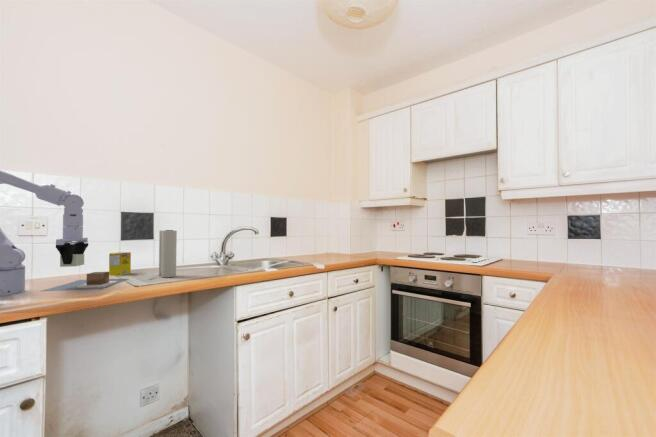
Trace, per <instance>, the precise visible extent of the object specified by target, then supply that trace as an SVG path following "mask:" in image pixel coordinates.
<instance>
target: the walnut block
mask: <svg viewBox="0 0 656 437" xmlns="http://www.w3.org/2000/svg"><path fill="white" fill-rule="evenodd" d="M109 279H110V275H109V271H93V272H90V273H87V274H86V280H87V283H86V285H102V284H105V283H108V282H109Z"/></svg>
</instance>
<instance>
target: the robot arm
mask: <svg viewBox="0 0 656 437" xmlns="http://www.w3.org/2000/svg"><path fill="white" fill-rule="evenodd" d="M1 184H3V185H4V184H5V185H9V186H11V187H15V188H17V189H21V190H23V191H27V192H31V193H34V194H35V197H36V198H37V199H38V200H41V201H44V202H47V203H49V204H53V205H56V206H63V208H64V209H63V215H62V238H58V239H55V249H56V250H57V252H58V253H59V256H61V257H62V261H63V264H71V263H72V258H73V254H84V255H85V252H86V250H87V248H88V246H89V240H88V239H89V238H88V237H83V236H84V235H83V234H84V214H83V213H84V211H83V210H84V209H83V207H84V204H85V203H84V200H83V198H82V197H81V196H79V195H78V194H71V193H72V192H71V191H70V190H68V191H66V190H63V189H60V188H57V187H56V185H54V184H52V183H51V184H47V183H45V184H40V185H39V184H36V183H34V182H32V181H28V180H26V179H24V178H21V177H20V176H16V175H14V174H11V173H8V172H6V171H2V170H0V185H1ZM25 259H26V254H25V252H24V250H22V249H20V248H18V247H17V246H16V245H15V244H14V243H13V242H12V241H11V240H10V239H9V238H8V236H7V235H6V233H5V232H4V231H3V230H2V228H1V227H0V297H6V296H10V295H13V294H18V293H22V292H25V290H26V266H25V264H23V262H24V261H25Z"/></svg>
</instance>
